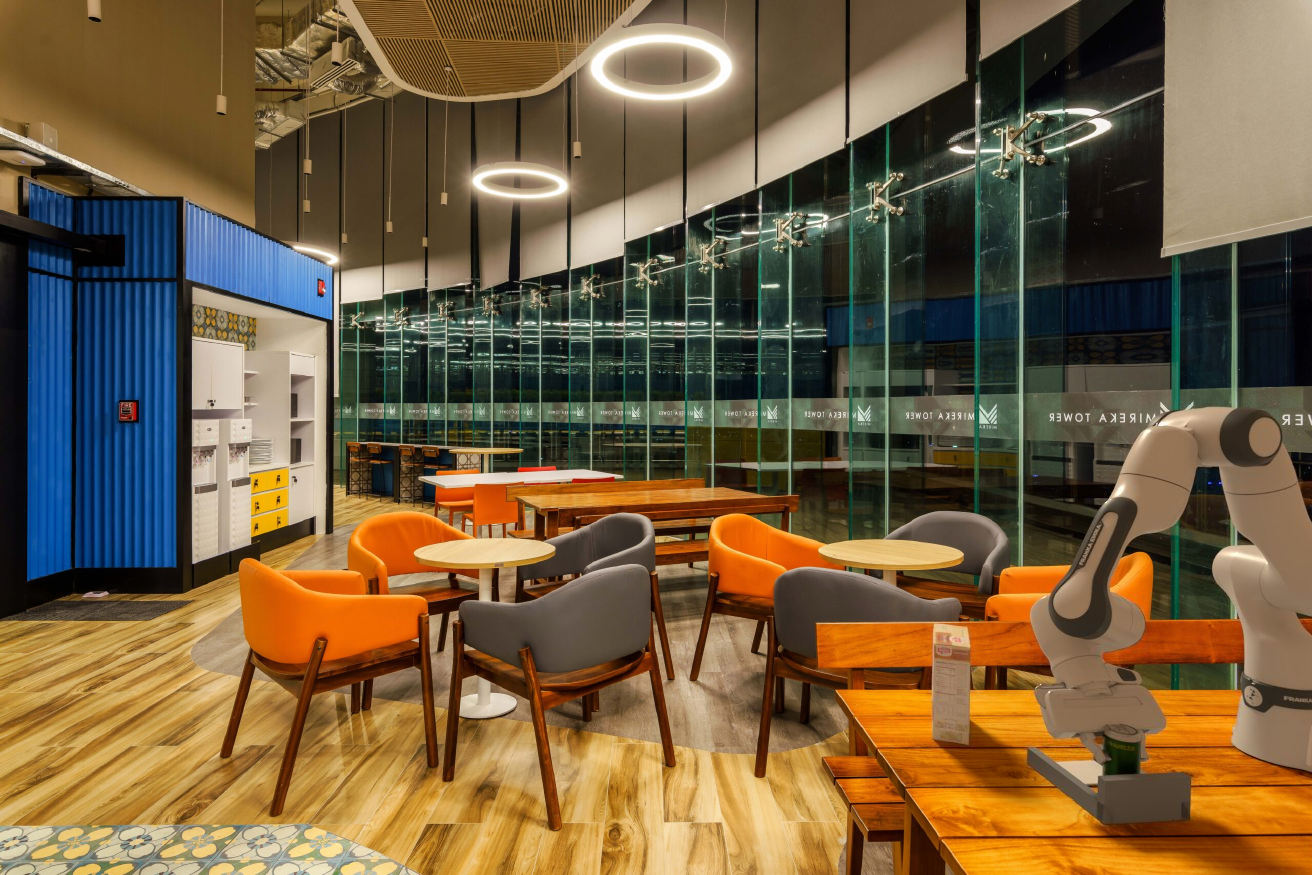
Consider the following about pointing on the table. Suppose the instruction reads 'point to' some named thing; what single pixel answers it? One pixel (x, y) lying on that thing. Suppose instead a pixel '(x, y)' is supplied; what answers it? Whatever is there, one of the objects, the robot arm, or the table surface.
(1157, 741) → the table surface
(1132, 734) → the beer can
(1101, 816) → the bay
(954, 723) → the coffeecake box
